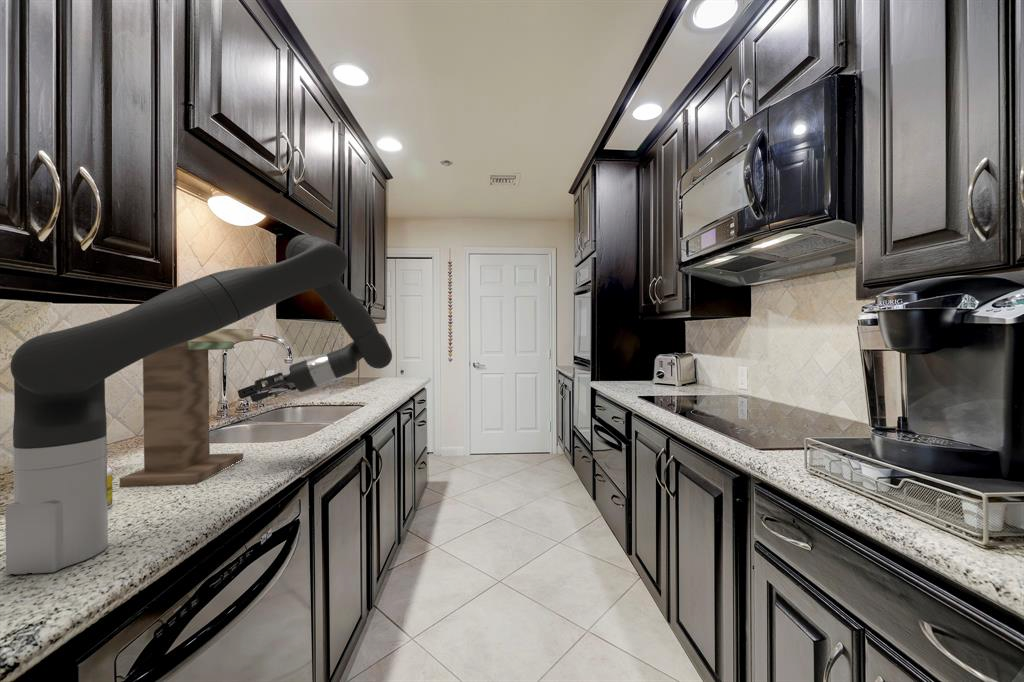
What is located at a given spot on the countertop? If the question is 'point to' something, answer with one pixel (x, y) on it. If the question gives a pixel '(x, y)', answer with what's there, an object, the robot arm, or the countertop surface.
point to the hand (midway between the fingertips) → (245, 396)
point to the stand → (178, 418)
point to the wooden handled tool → (226, 336)
